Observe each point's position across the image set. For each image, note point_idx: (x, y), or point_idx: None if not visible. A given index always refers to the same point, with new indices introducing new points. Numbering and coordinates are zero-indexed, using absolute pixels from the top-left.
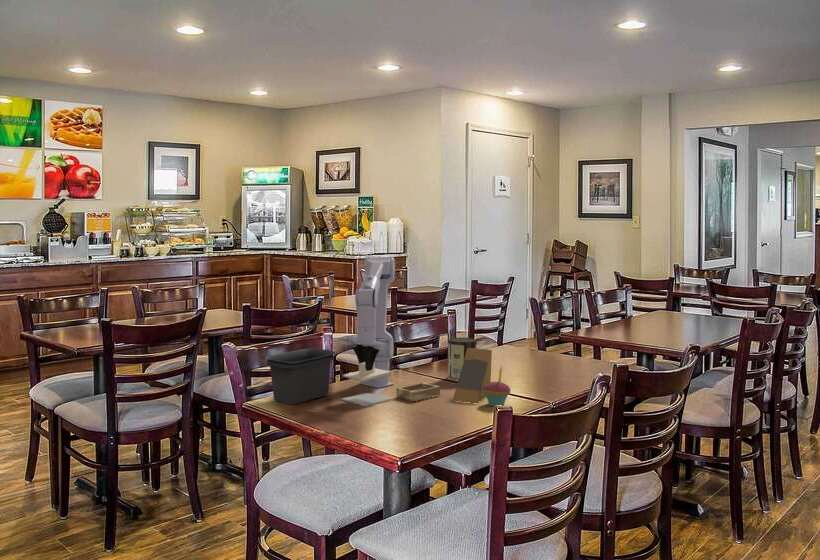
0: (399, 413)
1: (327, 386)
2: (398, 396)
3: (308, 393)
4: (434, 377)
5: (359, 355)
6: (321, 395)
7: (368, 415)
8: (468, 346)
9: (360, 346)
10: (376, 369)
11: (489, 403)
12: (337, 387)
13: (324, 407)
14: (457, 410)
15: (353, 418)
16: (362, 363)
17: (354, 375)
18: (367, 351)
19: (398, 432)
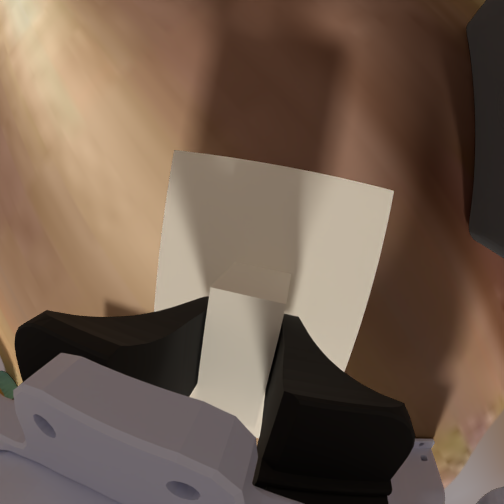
0: (62, 176)
1: (485, 228)
2: None
3: (485, 96)
4: None
5: (282, 367)
6: (473, 185)
7: (121, 78)
8: None
9: (287, 494)
10: (259, 425)
11: (6, 376)
12: (487, 363)
13: (347, 51)
14: (6, 305)
15: (144, 19)
16: (248, 320)
17: (295, 216)
18: (39, 314)
19: (9, 48)
